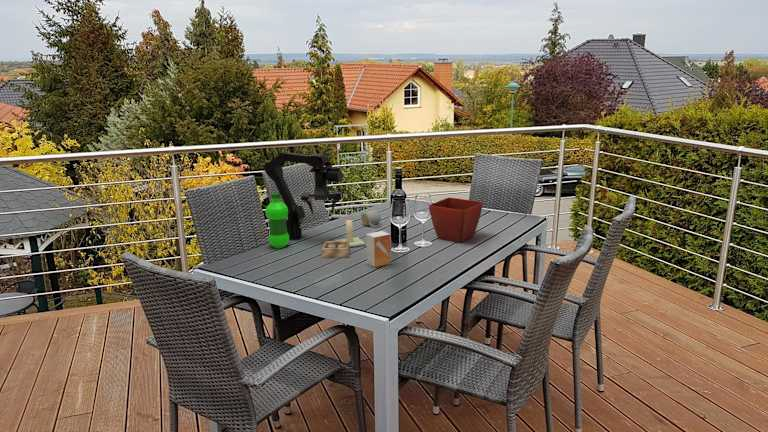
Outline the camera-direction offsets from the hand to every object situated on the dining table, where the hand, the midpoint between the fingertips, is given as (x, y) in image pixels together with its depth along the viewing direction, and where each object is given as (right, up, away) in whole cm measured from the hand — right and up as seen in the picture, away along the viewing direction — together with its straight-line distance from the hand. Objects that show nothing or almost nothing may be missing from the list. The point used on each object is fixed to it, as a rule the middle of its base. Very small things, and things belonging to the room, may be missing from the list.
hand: (322, 213), depth 259 cm
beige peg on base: (+13, -14, -4) cm, 19 cm away
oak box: (+8, -18, -17) cm, 26 cm away
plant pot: (+63, -12, +2) cm, 64 cm away
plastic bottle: (-20, -15, -4) cm, 25 cm away
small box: (+27, -21, -31) cm, 46 cm away
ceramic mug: (+23, -6, +27) cm, 36 cm away
